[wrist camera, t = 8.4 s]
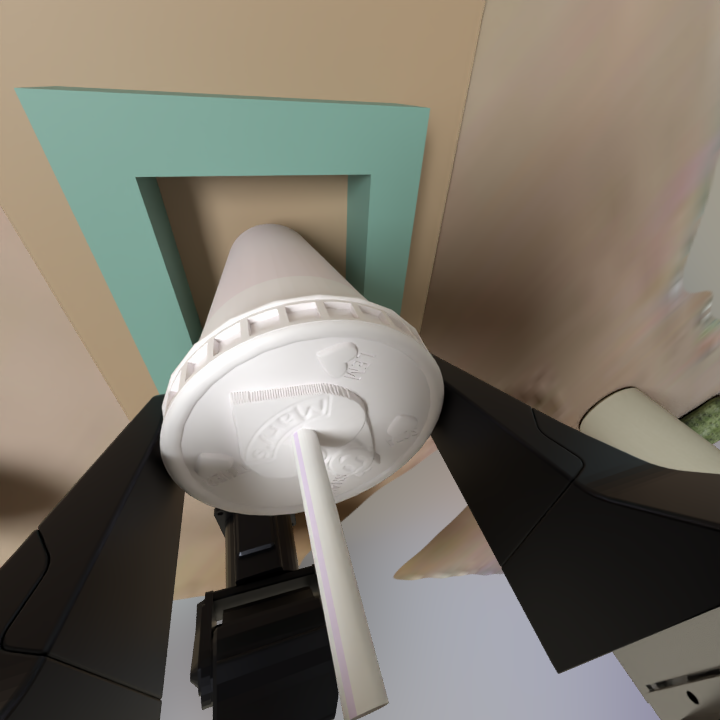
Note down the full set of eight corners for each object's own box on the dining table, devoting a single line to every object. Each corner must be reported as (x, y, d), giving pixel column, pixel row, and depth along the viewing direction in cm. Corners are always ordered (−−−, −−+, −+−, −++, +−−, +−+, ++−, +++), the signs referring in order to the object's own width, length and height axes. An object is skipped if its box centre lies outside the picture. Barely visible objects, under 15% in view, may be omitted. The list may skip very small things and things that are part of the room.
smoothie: (268, 145, 12) (563, 555, 2) (369, 266, 16) (631, 593, 6) (156, 268, 13) (-82, 920, 3) (276, 350, 17) (353, 736, 7)
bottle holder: (406, 369, 25) (429, 405, 22) (136, 418, 20) (123, 472, 17) (481, -37, 12) (556, -71, 10) (-199, -164, 7) (-444, -306, 5)
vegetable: (725, 384, 49) (765, 408, 45) (722, 397, 52) (759, 421, 48) (637, 439, 52) (668, 466, 49) (640, 449, 56) (669, 474, 52)
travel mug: (575, 413, 39) (754, 583, 26) (638, 375, 38) (860, 532, 25) (579, 439, 44) (731, 590, 31) (635, 405, 43) (816, 548, 30)
